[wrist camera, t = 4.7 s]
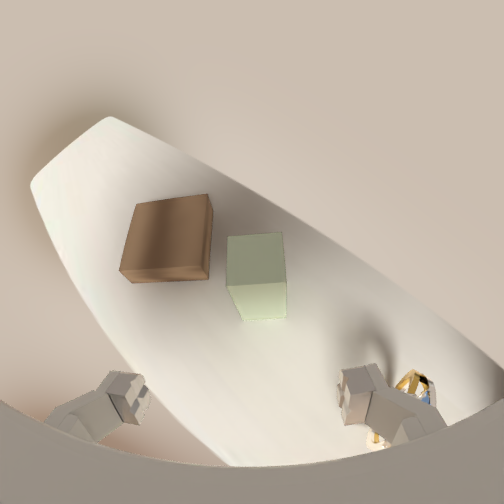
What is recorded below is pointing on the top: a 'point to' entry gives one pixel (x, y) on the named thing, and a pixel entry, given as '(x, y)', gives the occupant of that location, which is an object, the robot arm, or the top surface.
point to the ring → (412, 382)
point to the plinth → (169, 241)
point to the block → (257, 275)
